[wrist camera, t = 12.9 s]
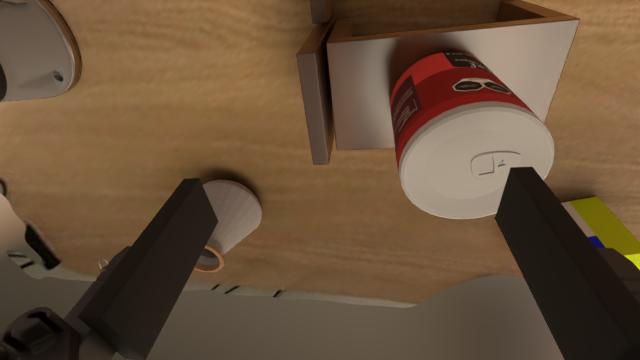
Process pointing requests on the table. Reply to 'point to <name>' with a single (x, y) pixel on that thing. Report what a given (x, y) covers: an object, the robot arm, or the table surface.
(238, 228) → the coffee pot
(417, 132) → the canned food
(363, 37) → the step shelf
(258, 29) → the table surface
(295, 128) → the table surface
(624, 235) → the puzzle toy
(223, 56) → the table surface
